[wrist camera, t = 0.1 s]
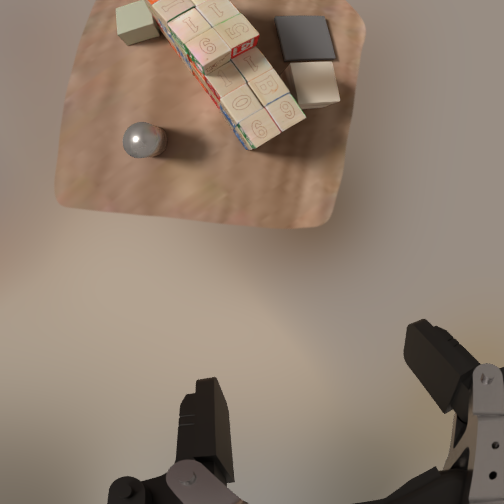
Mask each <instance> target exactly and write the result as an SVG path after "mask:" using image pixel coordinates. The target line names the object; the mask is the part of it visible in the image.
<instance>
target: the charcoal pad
mask: <svg viewBox="0 0 504 504" xmlns="http://www.w3.org/2000/svg"><path fill="white" fill-rule="evenodd" d="M274 21H275V24H276V28H277V32H278V36H279V41H280V45H281V49H282V53H283V58H284V62H285V61H301V60H334V59H335V54H334V50H333V46H332V42H331V38H330V34H329V31H328V27H327V24H326V20H325V17H324V16H275V18H274Z"/></svg>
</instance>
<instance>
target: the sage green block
mask: <svg viewBox="0 0 504 504" xmlns="http://www.w3.org/2000/svg"><path fill="white" fill-rule="evenodd" d="M116 21H117V34H118V36H119V37H120V38H121V39H122V40H123V41H124V42H125V43H126V44H127V46H128V45H131V44H134V43H138V42H141V41H144V40H147V39H151V38H154V37H158V36H160V34H159V27H158V26H157V24H156V21H155V19H154V17H153V15H152V14H151V13H150V11H149V9H148V7H147V6H146V3H145V1H144V0H140V1H137V2H134V3H131V4H128V5H125V6H122V7H119V8H116Z"/></svg>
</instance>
